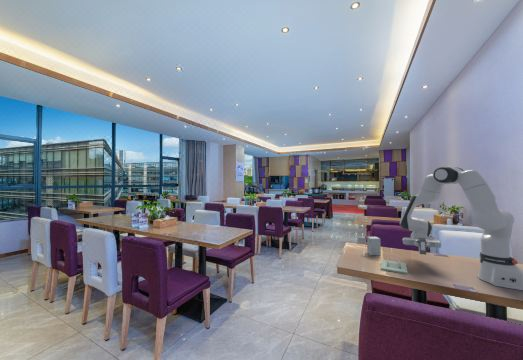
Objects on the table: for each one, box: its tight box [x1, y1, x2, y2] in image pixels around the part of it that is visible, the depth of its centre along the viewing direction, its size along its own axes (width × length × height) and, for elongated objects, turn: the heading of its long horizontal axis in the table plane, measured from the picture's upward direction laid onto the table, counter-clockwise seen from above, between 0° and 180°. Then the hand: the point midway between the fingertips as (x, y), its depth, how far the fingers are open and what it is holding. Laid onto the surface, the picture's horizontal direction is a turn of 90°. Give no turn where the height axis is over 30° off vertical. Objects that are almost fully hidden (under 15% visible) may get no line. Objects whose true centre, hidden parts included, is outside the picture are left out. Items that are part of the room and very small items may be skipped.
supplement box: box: [366, 236, 382, 256], centre depth 170 cm, size 7×7×13 cm
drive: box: [418, 237, 427, 256], centre depth 139 cm, size 6×3×9 cm, turn 150°
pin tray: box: [380, 259, 409, 275], centre depth 143 cm, size 18×14×4 cm
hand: (422, 245), depth 139 cm, fingers closed on drive, 3 cm apart
